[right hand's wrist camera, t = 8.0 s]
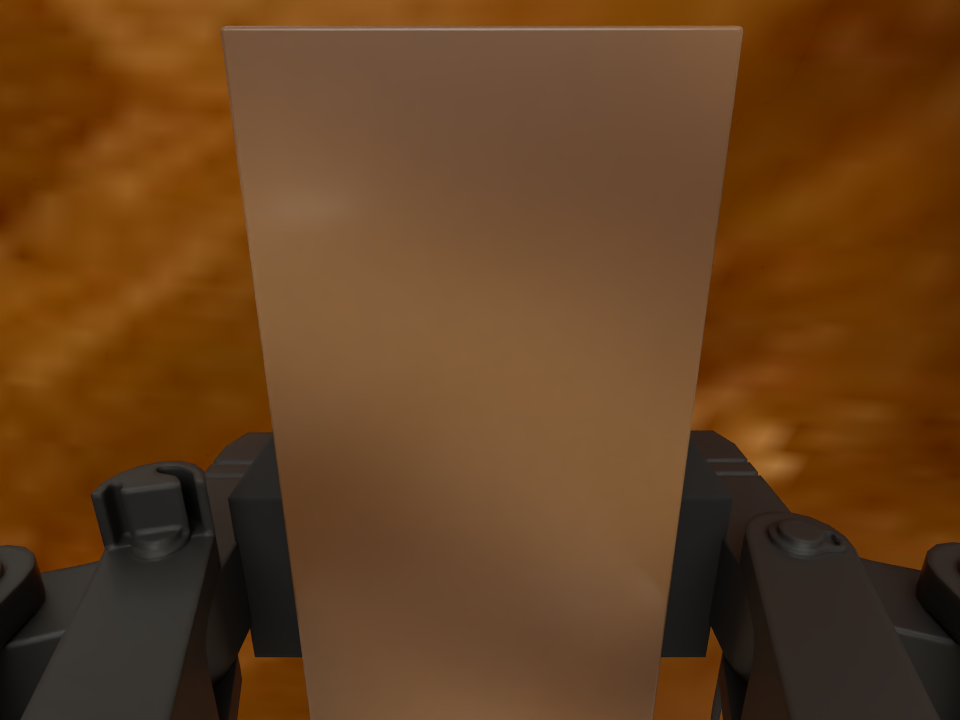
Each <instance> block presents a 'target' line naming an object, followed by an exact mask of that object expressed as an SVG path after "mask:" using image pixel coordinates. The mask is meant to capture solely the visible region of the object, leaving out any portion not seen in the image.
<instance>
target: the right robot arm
mask: <svg viewBox="0 0 960 720" xmlns="http://www.w3.org/2000/svg"><path fill="white" fill-rule="evenodd" d="M91 498H92V502H93V505H94V509H95V513H96V517H97V521H98V524H99V528H100V532H101V536H102V539H103V543H104V547H105V551H104V553H103V555H102V557H101V559H100V561H96V562H93V563H89V564H84V565H79V566H74V567H69V568H64V569H59V570H54V571H49V572H44V573H40V571H39V568H38V565H37V562H36V558H35V555H34V554H33V553H32V552H31V551H29V550H28V549H27V548H25V547H20V546H12V545H4V546H0V720H237V715H238V707H239V699H240V692H241V684H242V677H241V670H240V664H239V658H238V653H239V651H240V648H241V646H242V644H243V642H244V640H245V638H246V636H247V633H248V631H249V629H250V631H251V636H252V642H253V648H254V654H255V657H302V651H301V643H300V635H299V628H298V620H297V612H296V605H295V597H294V589H293V582H292V574H291V566H290V559H289V551H288V543H287V536H286V528H285V520H284V513H283V505H282V497H281V490H280V482H279V475H278V467H277V459H276V452H275V444H274V436H273V433H247V434H245V435H244V436H242V437H240V438H239V439H237V440H235V441H234V442H232V443H230V444H229V445H227V446H226V447H225V448H224V449H223V451H222V452H221V453H220V454H219V456H218V457H217V458H216V459H215V460H214V464H213V465H210V467H209V468H208V469H207V470H206V471H205V473H204V471H203V470H202V469H201V468H199V467H198V466H197V465H195V464H191V463H186V462H182V461H169V462H157V463H152V464H147V465H142V466H138V467H135V468H133V469H130V470H127V471H124V472H122V473H119V474H117V475H115V476H114V477H112V478H110V479H109V480H107V481H105V482H103V483H102V484H101V485H100V486H99V487H98V488H97V489H96V490H95V491H94V492H93V493H92V494H91ZM711 627H712V629H713V631H714V633H715V636H716V638H717V640H718V642H719V644H720V646H721V648H722V650H723V653H722V658H721V664H720V669H719V674H718V680H717V685H716V691H715V696H714V701H713V707H712V714H711V720H719V719H720V714H721V709H722V714H723V720H960V543H955V542H952V543H944V544H937V545H935V546H934V547H933V548H931V549H930V550H929V551H927V554H926V557H925V561H924V564H923V567H922V570H916V569H911V568H906V567H901V566H895V565H890V564H885V563H880V562H875V561H871V560H867V559H863V558H859V556H858V554H857V552H856V550H855V548H854V547H853V546H852V544H851V543H850V542H849V541H848V540H847V538H846V537H845V536H844V535H842V534H841V533H839V532H838V531H836V530H835V529H834V528H832V527H831V526H829V525H827V524H825V523H822V522H820V521H818V520H815V519H813V518H811V517H808V516H803V515H799V514H795V513H791V512H790V511H789V509H788V508H787V507H786V506H785V505H784V503H783V502H782V501H781V500H780V498H779V497H778V496H777V495H776V494H775V492H774V491H773V490H772V489H771V488H770V486H769V485H768V484H767V483H766V481H765V480H764V479H763V478H762V477H761V476H758V472H757V471H756V469H755V468H754V467H753V466H752V465H751V463H750V462H747V458H746V457H745V456H744V455H743V454H742V452H741V451H740V450H739V449H738V448H737V446H736V445H735V444H734V443H732V442H731V441H729V440H727V439H726V438H724V437H722V436H721V435H719V434H717V433H716V432H714V431H690V438H689V446H688V453H687V461H686V469H685V476H684V484H683V491H682V499H681V507H680V514H679V522H678V529H677V537H676V545H675V552H674V560H673V567H672V575H671V583H670V590H669V598H668V605H667V613H666V621H665V628H664V636H663V643H662V651H661V657H706V651H707V645H708V639H709V634H710V628H711Z"/></svg>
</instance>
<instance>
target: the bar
mask: <svg viewBox="0 0 960 720" xmlns="http://www.w3.org/2000/svg"><path fill="white" fill-rule="evenodd" d="M742 36H743V28H742V27H740V26H225V27H223V28H221V38H222V46H223V53H224V61H225V69H226V76H227V84H228V92H229V99H230V107H231V115H232V122H233V130H234V138H235V145H236V153H237V161H238V168H239V176H240V184H241V191H242V199H243V206H244V214H245V222H246V229H247V237H248V245H249V252H250V260H251V268H252V275H253V283H254V291H255V298H256V306H257V314H258V321H259V329H260V337H261V344H262V352H263V360H264V367H265V375H266V383H267V390H268V398H269V406H270V413H271V421H272V429H273V436H274V444H275V452H276V459H277V467H278V475H279V482H280V490H281V497H282V505H283V513H284V520H285V528H286V536H287V543H288V551H289V559H290V566H291V574H292V582H293V589H294V597H295V605H296V612H297V620H298V628H299V635H300V643H301V651H302V658H303V666H304V674H305V681H306V689H307V697H308V704H309V712H310V720H652V719H653V712H654V704H655V697H656V689H657V681H658V674H659V666H660V659H661V651H662V643H663V636H664V628H665V621H666V613H667V605H668V598H669V590H670V583H671V575H672V567H673V560H674V552H675V545H676V537H677V529H678V522H679V514H680V507H681V499H682V491H683V484H684V476H685V469H686V461H687V453H688V446H689V438H690V431H691V423H692V415H693V408H694V400H695V393H696V385H697V377H698V370H699V362H700V355H701V347H702V339H703V332H704V324H705V317H706V309H707V301H708V294H709V286H710V279H711V271H712V263H713V256H714V248H715V241H716V233H717V225H718V218H719V210H720V203H721V195H722V187H723V180H724V172H725V165H726V157H727V149H728V142H729V134H730V127H731V119H732V111H733V104H734V96H735V89H736V81H737V73H738V66H739V58H740V51H741V43H742Z"/></svg>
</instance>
